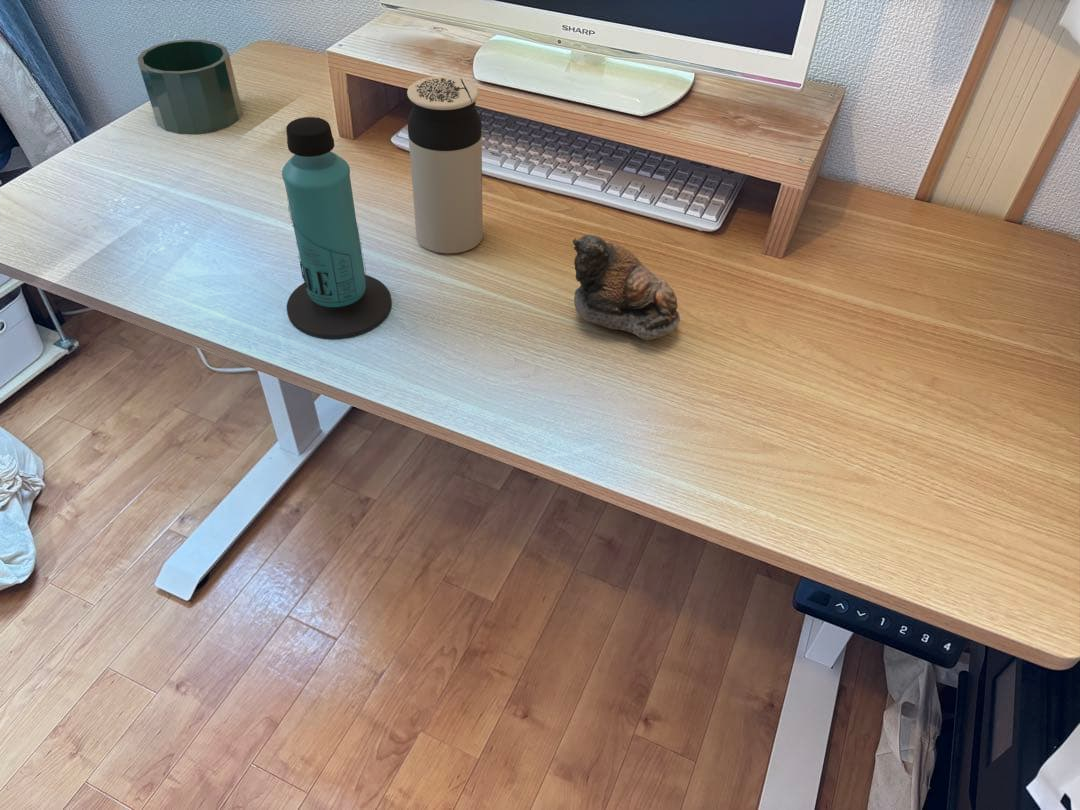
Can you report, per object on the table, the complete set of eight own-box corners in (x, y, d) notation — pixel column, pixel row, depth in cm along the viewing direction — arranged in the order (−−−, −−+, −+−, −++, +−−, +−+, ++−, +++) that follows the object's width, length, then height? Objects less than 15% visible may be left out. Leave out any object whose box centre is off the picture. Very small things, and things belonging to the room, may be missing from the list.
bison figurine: (680, 317, 87) (697, 238, 79) (671, 358, 82) (688, 278, 75) (573, 296, 88) (581, 218, 81) (558, 335, 84) (565, 255, 76)
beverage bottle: (376, 286, 87) (353, 110, 73) (360, 323, 83) (333, 143, 68) (318, 280, 88) (284, 104, 73) (299, 317, 83) (259, 137, 69)
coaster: (359, 350, 81) (358, 346, 80) (266, 322, 83) (265, 318, 83) (409, 290, 88) (409, 286, 87) (323, 267, 90) (322, 262, 90)
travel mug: (417, 257, 92) (405, 107, 80) (416, 220, 98) (404, 74, 85) (485, 254, 93) (483, 106, 81) (480, 218, 99) (478, 74, 86)
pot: (211, 152, 108) (191, 79, 101) (142, 135, 110) (118, 63, 103) (260, 118, 116) (245, 48, 108) (195, 103, 118) (176, 34, 111)
